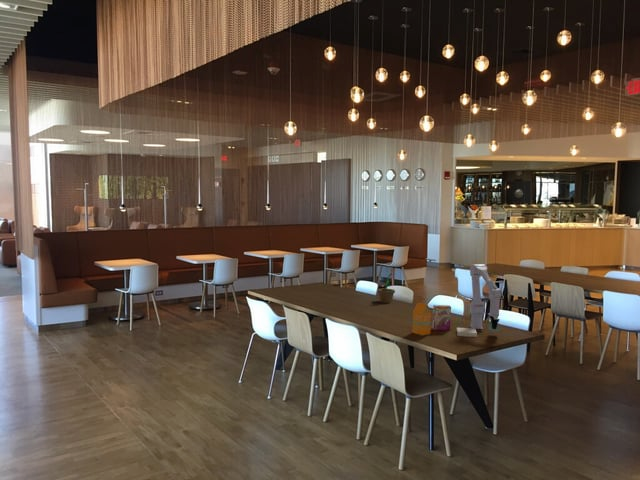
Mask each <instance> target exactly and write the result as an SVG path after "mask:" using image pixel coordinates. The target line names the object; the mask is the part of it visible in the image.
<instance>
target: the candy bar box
mask: <svg viewBox="0 0 640 480" xmlns="http://www.w3.org/2000/svg"><path fill="white" fill-rule="evenodd" d="M432 309H433V310H432V324H431V326H432V327H431V329H433V331H451V319H452V317H451V316H452V315H451V314H452V312H451V311H452V305H450V304H449V305H448V304H445V305H444V304H433V306H432Z"/></svg>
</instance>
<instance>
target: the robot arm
mask: <svg viewBox="0 0 640 480" xmlns="http://www.w3.org/2000/svg"><path fill="white" fill-rule="evenodd" d="M469 274H470V275H469V276H470V277H471V288H472V301H471V302H469V308H468V312H469V314H470V315H471V319H470V321H471V323H470V324H469V326H470V328H471V329H476V330H483V329H484V328H483V327H484V326H483V316H484V315H485V314H486V306H485V302H484V301H482V299H481V297H482V296H481V295H482V294H481V282H480V281H481V279H480V278H481V277H482V279H483V280H484V282H485V283H484V284H485V285H484V286H486V289H487V291H488V297H489V302H490V303H489V304H490V306H489V313H487V315H488V317H489V320H490V322H492V328H493V329H496V328H497V324H498V325H499V322H500V318H499V316H500V304H501V303H500V299H501V297H502V295H503V294H502V293H503V292H502V289H501V288H499V287H497V285H496V282H494V280H492V279H491V278H490V275H489V274H488V266H487V264H485V263H481V264H480V263H479V264H478V263H476V264H475V263H472V264H471V265H470V266H469Z"/></svg>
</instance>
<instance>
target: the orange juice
mask: <svg viewBox="0 0 640 480" xmlns="http://www.w3.org/2000/svg"><path fill="white" fill-rule="evenodd" d="M412 312H413V313H412V333H413V334H416V335H419V336H427V335H431V329H432V327H431V326H432V311H431V308H430V307H429V305H428V303H422V302H417V303H416V305H415V307H414V309H413V311H412Z"/></svg>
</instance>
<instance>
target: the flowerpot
mask: <svg viewBox="0 0 640 480" xmlns="http://www.w3.org/2000/svg"><path fill="white" fill-rule="evenodd" d="M390 271H391V272H390V274H388V277H387V279H386V283H385V288H379V289H377V292H378V294H379V302H380V303H383V304H390V303H391V302H392V303H393V299H394V294H395V293H396V289H391V288H388V284H389V283H390V281H391V282H393V267H391V270H390ZM389 278H390V280H389Z"/></svg>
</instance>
